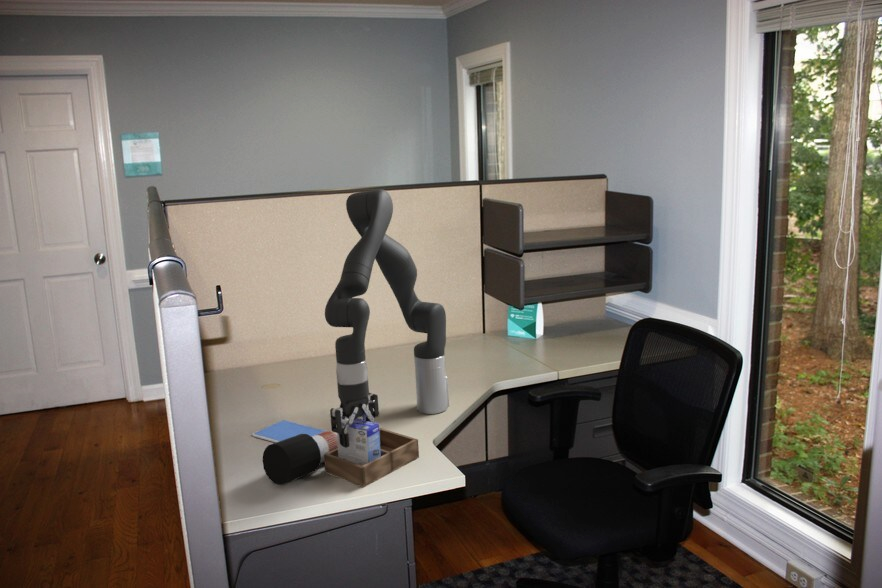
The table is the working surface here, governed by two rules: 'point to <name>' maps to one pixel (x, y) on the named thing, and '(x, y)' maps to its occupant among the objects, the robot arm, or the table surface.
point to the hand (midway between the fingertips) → (357, 440)
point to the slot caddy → (393, 456)
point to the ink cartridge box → (361, 442)
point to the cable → (297, 456)
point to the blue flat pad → (285, 431)
